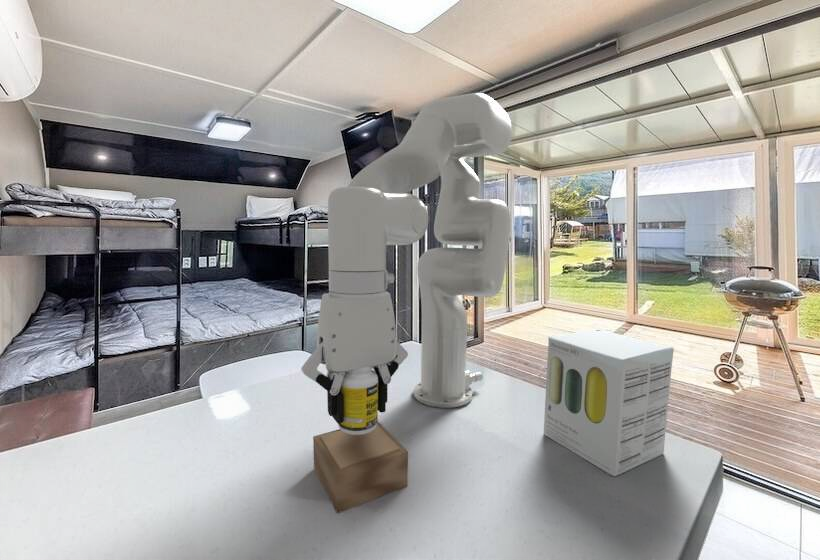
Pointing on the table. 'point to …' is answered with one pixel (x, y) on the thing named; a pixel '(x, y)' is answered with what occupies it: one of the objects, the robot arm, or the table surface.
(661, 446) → the supplement box
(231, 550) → the table surface
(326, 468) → the brown square tray
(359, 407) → the supplement bottle
